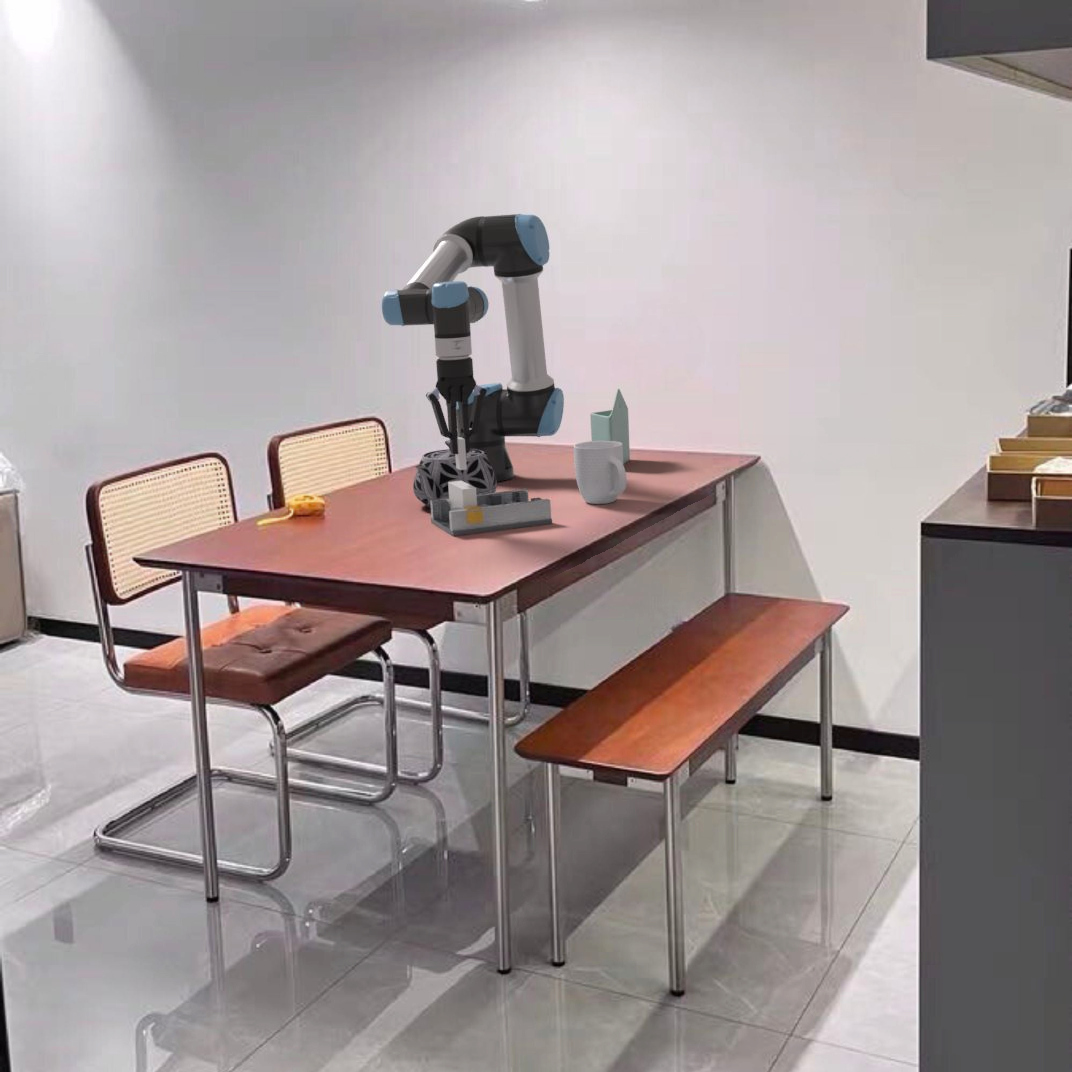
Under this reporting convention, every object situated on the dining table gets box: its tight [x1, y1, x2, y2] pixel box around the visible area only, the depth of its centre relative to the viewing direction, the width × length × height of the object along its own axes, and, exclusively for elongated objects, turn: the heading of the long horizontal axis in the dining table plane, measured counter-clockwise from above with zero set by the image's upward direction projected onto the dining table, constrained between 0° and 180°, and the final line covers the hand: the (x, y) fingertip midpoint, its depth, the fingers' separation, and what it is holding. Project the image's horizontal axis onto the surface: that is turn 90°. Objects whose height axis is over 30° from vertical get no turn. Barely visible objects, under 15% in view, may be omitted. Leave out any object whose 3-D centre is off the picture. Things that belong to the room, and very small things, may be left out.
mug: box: [573, 440, 627, 505], centre depth 330 cm, size 15×11×13 cm
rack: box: [430, 488, 553, 537], centre depth 315 cm, size 16×22×5 cm
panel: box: [448, 481, 477, 511], centre depth 313 cm, size 10×3×8 cm, turn 21°
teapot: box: [412, 439, 498, 509], centre depth 335 cm, size 19×31×15 cm, turn 153°
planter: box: [589, 388, 631, 465], centre depth 377 cm, size 16×8×20 cm, turn 162°
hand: (461, 468), depth 312 cm, fingers closed
